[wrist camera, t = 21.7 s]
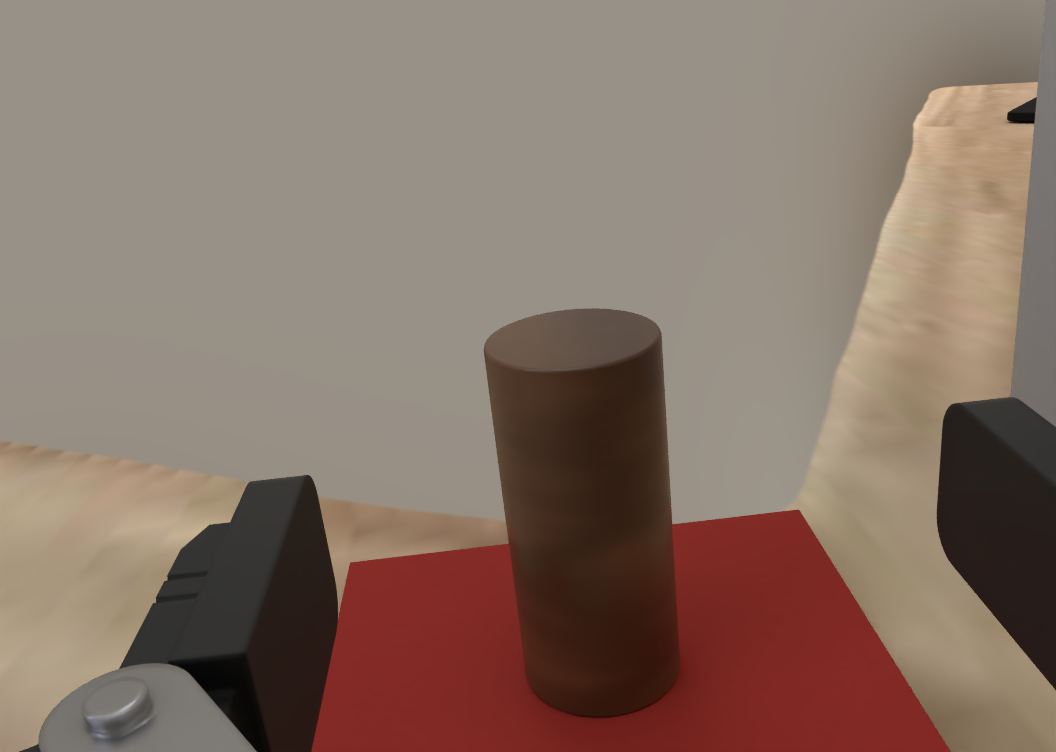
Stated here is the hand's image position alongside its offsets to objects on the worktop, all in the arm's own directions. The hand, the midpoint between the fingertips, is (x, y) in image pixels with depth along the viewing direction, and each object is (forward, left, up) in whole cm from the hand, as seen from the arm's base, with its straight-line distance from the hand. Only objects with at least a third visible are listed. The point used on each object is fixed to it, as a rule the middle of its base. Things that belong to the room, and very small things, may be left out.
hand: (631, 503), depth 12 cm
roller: (0, +12, -12) cm, 17 cm away
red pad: (0, +12, -13) cm, 17 cm away
